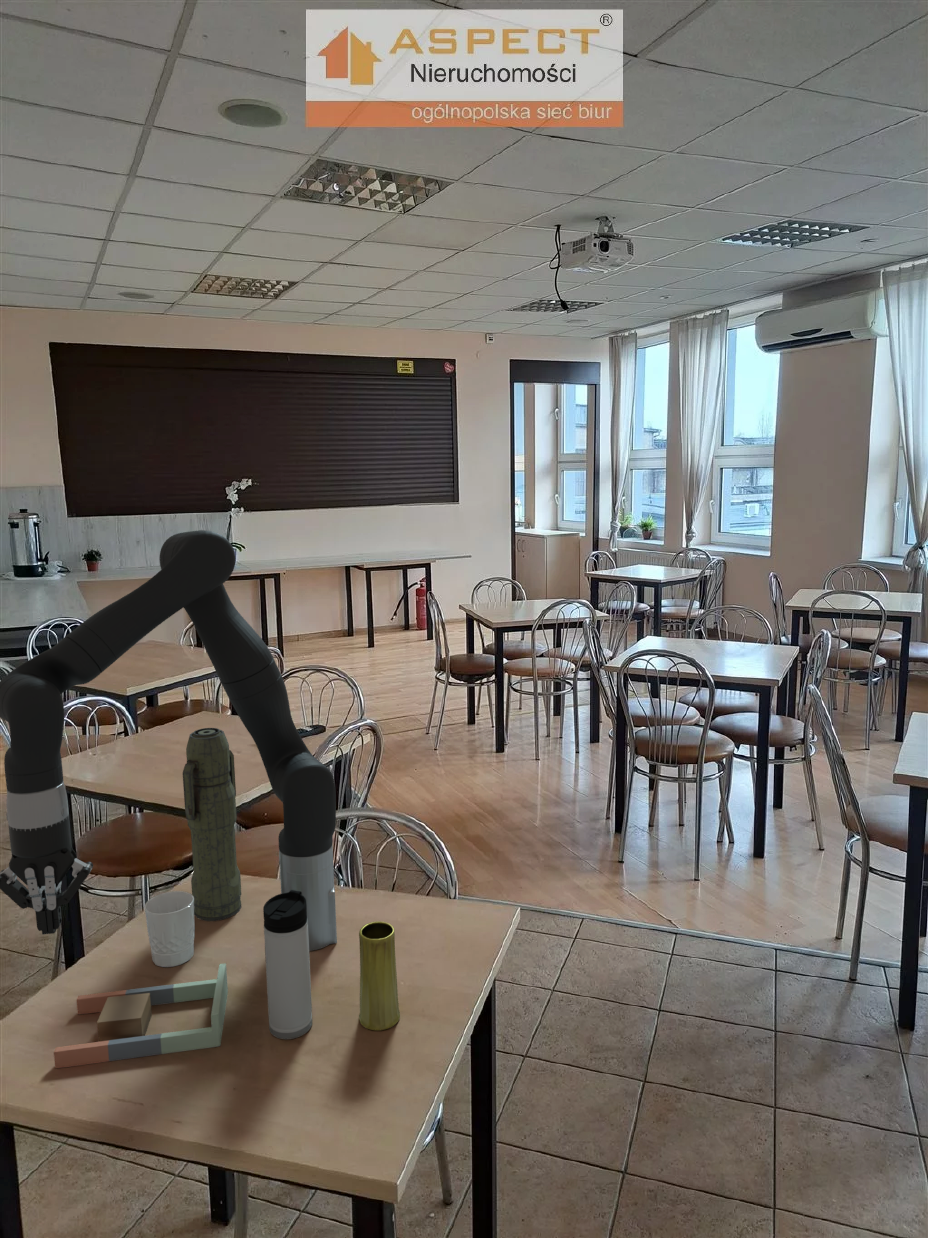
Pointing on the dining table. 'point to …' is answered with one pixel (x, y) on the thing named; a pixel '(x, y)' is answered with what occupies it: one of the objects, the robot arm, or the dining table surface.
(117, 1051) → the channel
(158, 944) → the white cup
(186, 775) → the thermos
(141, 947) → the dining table surface
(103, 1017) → the walnut block
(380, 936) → the vase
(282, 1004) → the travel mug
